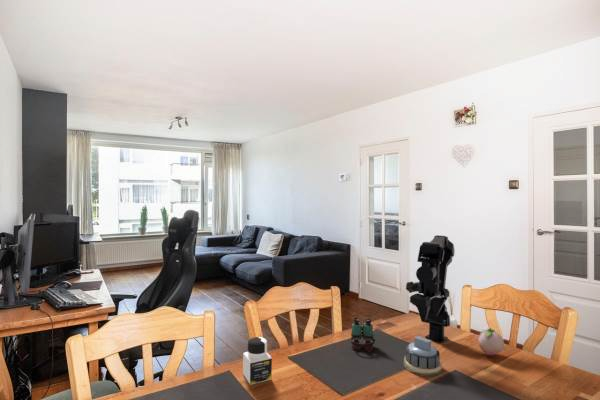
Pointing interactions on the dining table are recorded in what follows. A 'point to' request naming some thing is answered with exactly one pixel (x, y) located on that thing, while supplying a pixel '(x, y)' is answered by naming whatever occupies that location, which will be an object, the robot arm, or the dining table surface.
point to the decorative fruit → (490, 342)
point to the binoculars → (362, 335)
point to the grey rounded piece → (422, 347)
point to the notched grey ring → (422, 364)
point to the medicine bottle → (257, 361)
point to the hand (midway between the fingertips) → (429, 318)
